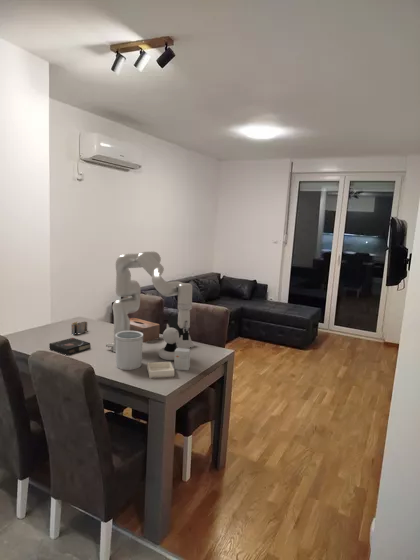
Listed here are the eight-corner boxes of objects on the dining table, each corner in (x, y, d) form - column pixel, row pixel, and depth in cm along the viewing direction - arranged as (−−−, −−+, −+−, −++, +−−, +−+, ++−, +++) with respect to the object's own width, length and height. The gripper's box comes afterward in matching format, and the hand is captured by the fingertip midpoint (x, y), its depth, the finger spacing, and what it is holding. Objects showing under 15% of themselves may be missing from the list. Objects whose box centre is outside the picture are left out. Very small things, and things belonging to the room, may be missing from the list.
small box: (190, 367, 205) (190, 348, 204) (188, 370, 199) (189, 351, 198) (175, 365, 206) (176, 347, 204) (173, 369, 200) (174, 350, 199)
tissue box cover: (118, 334, 260) (118, 321, 258) (133, 331, 271) (134, 317, 270) (143, 343, 244) (143, 328, 243) (159, 338, 256) (159, 324, 254)
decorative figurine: (188, 358, 219) (190, 325, 216) (168, 363, 209) (170, 329, 206) (173, 351, 229) (174, 320, 227) (153, 356, 219) (154, 323, 217)
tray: (149, 378, 187) (149, 371, 186) (146, 369, 199) (147, 362, 198) (174, 376, 190) (174, 370, 190) (170, 367, 202) (170, 361, 202)
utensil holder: (136, 371, 194) (137, 339, 192) (110, 368, 197) (110, 336, 195) (146, 362, 209) (147, 332, 206) (121, 359, 211) (122, 329, 209)
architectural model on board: (74, 336, 252) (74, 322, 251) (71, 335, 254) (71, 321, 252) (87, 332, 262) (87, 319, 261) (84, 331, 263) (84, 318, 262)
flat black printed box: (67, 356, 213) (67, 349, 213) (49, 349, 222) (49, 343, 222) (90, 349, 227) (90, 343, 226) (72, 343, 236) (72, 337, 236)
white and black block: (176, 352, 229) (173, 336, 230) (171, 352, 232) (167, 336, 233) (194, 346, 242) (191, 331, 243) (189, 347, 245) (186, 332, 246)
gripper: (174, 303, 205) (174, 333, 207) (180, 309, 189) (179, 342, 191) (188, 303, 207) (187, 333, 209) (195, 309, 191) (194, 341, 193)
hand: (183, 337), depth 200 cm, fingers open, 9 cm apart
